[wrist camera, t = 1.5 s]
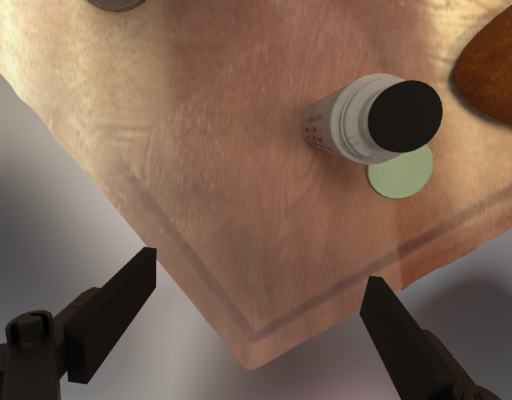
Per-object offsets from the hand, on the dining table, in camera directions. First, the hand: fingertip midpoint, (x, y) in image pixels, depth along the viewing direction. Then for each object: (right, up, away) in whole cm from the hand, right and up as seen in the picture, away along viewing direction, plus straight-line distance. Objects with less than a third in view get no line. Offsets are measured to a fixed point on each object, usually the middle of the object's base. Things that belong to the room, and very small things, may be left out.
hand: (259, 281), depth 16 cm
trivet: (+25, +11, +30) cm, 41 cm away
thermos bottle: (+12, +18, +29) cm, 36 cm away
